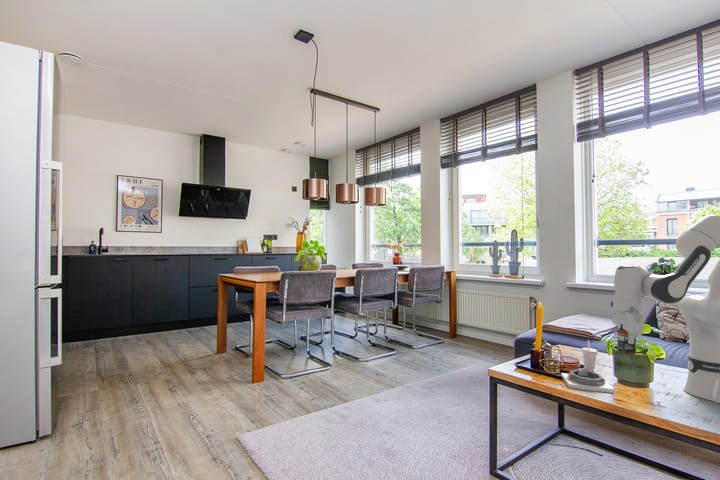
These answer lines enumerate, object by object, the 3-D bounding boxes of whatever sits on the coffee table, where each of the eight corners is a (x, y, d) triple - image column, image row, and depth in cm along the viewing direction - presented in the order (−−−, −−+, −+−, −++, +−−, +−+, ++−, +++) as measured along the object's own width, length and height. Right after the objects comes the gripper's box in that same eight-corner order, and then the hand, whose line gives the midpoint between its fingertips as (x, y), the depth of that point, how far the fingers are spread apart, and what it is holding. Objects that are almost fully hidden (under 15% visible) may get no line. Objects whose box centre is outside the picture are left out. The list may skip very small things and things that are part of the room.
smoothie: (579, 367, 179) (579, 338, 179) (593, 368, 178) (593, 339, 178) (585, 371, 173) (585, 341, 173) (600, 372, 172) (600, 342, 172)
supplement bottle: (629, 351, 149) (630, 323, 149) (639, 356, 143) (640, 326, 143) (613, 350, 149) (614, 322, 149) (622, 355, 143) (623, 325, 144)
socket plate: (601, 380, 162) (602, 377, 162) (614, 393, 148) (614, 389, 148) (561, 376, 166) (561, 372, 166) (569, 387, 153) (569, 384, 153)
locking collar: (599, 377, 161) (599, 372, 161) (609, 387, 150) (609, 381, 150) (564, 374, 165) (564, 368, 165) (571, 383, 153) (571, 377, 153)
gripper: (649, 310, 135) (648, 349, 135) (625, 302, 155) (625, 335, 155) (629, 309, 137) (628, 347, 137) (608, 301, 157) (607, 334, 157)
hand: (626, 341), depth 146 cm, fingers closed on supplement bottle, 6 cm apart
